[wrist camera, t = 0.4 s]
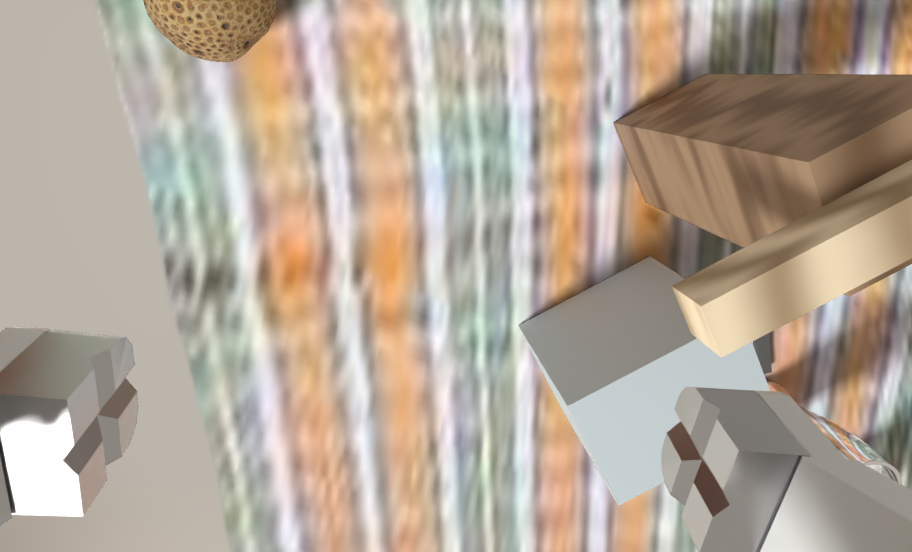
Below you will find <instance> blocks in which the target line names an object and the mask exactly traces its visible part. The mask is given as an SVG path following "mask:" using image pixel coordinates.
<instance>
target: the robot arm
mask: <svg viewBox="0 0 912 552" xmlns="http://www.w3.org/2000/svg"><path fill="white" fill-rule="evenodd" d="M134 365H135V361H134V354H133V346H132V343H131V342H130V341H129V340H128V339H127V337H118V336H109V335H99V334H89V333H80V332H70V331H61V330H50V329H45V328H30V327H8V328H5V329H4V330H3V331H2V332H0V525H2V524H4V523H5V522H7V521H8V520H10V519H11V518H12V514H20V515H51V516H54V515H55V516H84V515H85V513H86V512H87V510H88V508H89V507H90V506H91V504H92V502H93V501H94V499H95V498H96V496H97V495H98V493H99V492H100V490H101V488H102V487H103V485H104V484H105V482H106V481H107V474H106V465H108V464H110V463H112V462H113V461H115V460H117V459H119V458H120V457H122V456H123V454H124V452H125V450H126V449H127V447H128V446H129V444H130V442H131V439H132V436H133V433H134V430H135V427H136V423H137V414H138V396H137V391H136V389H135V388H134V387H133V386H132V385H131V384H130V383H129V381H128V380H127V379H126V376H127V375H128V373H129V372H130V371H131V369H132V368H133V367H134ZM675 411H676V414H677V416H678V418H679V420H680V422H679V423H678V424H677V425H675V426H674V427H673V428H672V429H671V430H669V431H668V432H667V433H666V437H665V440H664V444H663V447H662V453H661V469H662V474H663V478H664V482H665V484H666V486H667V488H668V491H669V493H670V495H672V496H673V497H674V498H676V499H677V500H678V501H679V502H681V503H682V504H683V505H685V508H684V511H683V514H682V516H681V518H682V520H683V522H684V524H685V526H686V528H687V530H688V532H689V534H690V536H691V538H692V540H693V542H694V544H695V546H696V548H697V550H698V552H912V490H910V489H908V488H906V487H905V486H903V485H901V484H899V483H897V482H895V481H894V480H892V479H890V478H888V477H886V476H884V475H883V474H881V473H879V472H877V471H875V470H874V469H872V468H870V467H868V466H866V465H864V464H863V463H861V462H859V461H855V460H847V459H846V458H845V457H844V456H843V454H842V453H841V452H840V451H839V450H838V449H837V448H836V447H835V446H834V445H833V443H832V442H831V441H830V440H829V439H828V438H827V437H826V436H825V435H824V433H823V432H822V431H821V430H820V429H819V428H818V427H817V426H816V425H815V424H814V422H813V421H812V420H811V419H810V418H809V417H808V416H807V415H806V414H805V413H804V411H803V410H802V409H801V408H800V407H799V406H798V405H797V404H796V403H795V401H794V400H793V399H792V398H791V397H790V396H789V395H787V394H784V393H782V392H778V391H757V390H736V389H719V388H702V387H685V388H684V389H683V391H682V392H681V393H680V395H679V397H678V400H677V403H676V406H675Z"/></svg>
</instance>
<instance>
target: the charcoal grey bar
mask: <svg viewBox="0 0 912 552" xmlns="http://www.w3.org/2000/svg"><path fill="white" fill-rule="evenodd" d="M753 346H754V349H755V352H756V354H757V357H758V360H759V362H760V365H761V368H762V370H763V373H764V374H766V373H770V372H772V369H771V350H770V333H768V334H766V335H764V336H762V337H760V338H758V339H756V340H754V341H753Z"/></svg>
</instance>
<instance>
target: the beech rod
mask: <svg viewBox="0 0 912 552" xmlns="http://www.w3.org/2000/svg"><path fill="white" fill-rule="evenodd" d="M911 258H912V160H910V161H908V162H906V163H904V164H902V165H901V166H899V167H897V168H895V169H893V170H891V171H889V172H887V173H885V174H883V175H882V176H880V177H878V178H876V179H874V180H872V181H870V182H868V183H866V184H864V185H862V186H861V187H859V188H857V189H855V190H853V191H851V192H849V193H847V194H845V195H843V196H842V197H840V198H838V199H836V200H834V201H832V202H830V203H828V204H826V205H824V206H823V207H821V208H819V209H817V210H815V211H813V212H811V213H809V214H807V215H805V216H804V217H802V218H800V219H798V220H796V221H794V222H792V223H790V224H788V225H786V226H784V227H783V228H781V229H779V230H777V231H775V232H773V233H771V234H769V235H767V236H765V237H764V238H762V239H760V240H758V241H756V242H754V243H752V244H750V245H748V246H746V247H745V248H743V249H741V250H739V251H737V252H735V253H733V254H731V255H729V256H727V257H726V258H724V259H722V260H720V261H718V262H716V263H714V264H712V265H710V266H708V267H706V268H705V269H703V270H701V271H699V272H697V273H695V274H693V275H691V276H689V277H687V278H686V279H684V280H682V281H680V282H678V283H676V284H674V285H672V288H673V291H674V293H675V296H676V298H677V301H678V303H679V305H680V308H681V310H682V313H683V315H684V318H685V320H686V323H687V325H688V327H689V330H690V332H691V334H692V335H694V336H695V337H696V338H697V339H699V340H700V341H701V342H702V343H704V344H705V345H706V346H707V347H709V348H710V349H711V350H712V351H714V352H715V353H716V354H717V355H719V356H720V357H721V358H722V357H724V356H726V355H728V354H729V353H731V352H733V351H735V350H737V349H739V348H741V347H743V346H745V345H747V344H749V343H751V342H752V341H754V340H756V339H758V338H760V337H762V336H764V335H766V334H768V333H770V332H772V331H774V330H775V329H777V328H779V327H781V326H783V325H785V324H787V323H789V322H791V321H793V320H795V319H797V318H798V317H800V316H802V315H804V314H806V313H808V312H810V311H812V310H814V309H816V308H818V307H819V306H821V305H823V304H825V303H827V302H829V301H831V300H833V299H835V298H837V297H839V296H841V295H842V294H844V293H846V292H848V291H850V290H852V289H854V288H856V287H858V286H860V285H862V284H864V283H865V282H867V281H869V280H871V279H873V278H875V277H877V276H879V275H881V274H883V273H885V272H887V271H888V270H890V269H892V268H894V267H896V266H898V265H900V264H902V263H904V262H906V261H908V260H910V259H911Z"/></svg>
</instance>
